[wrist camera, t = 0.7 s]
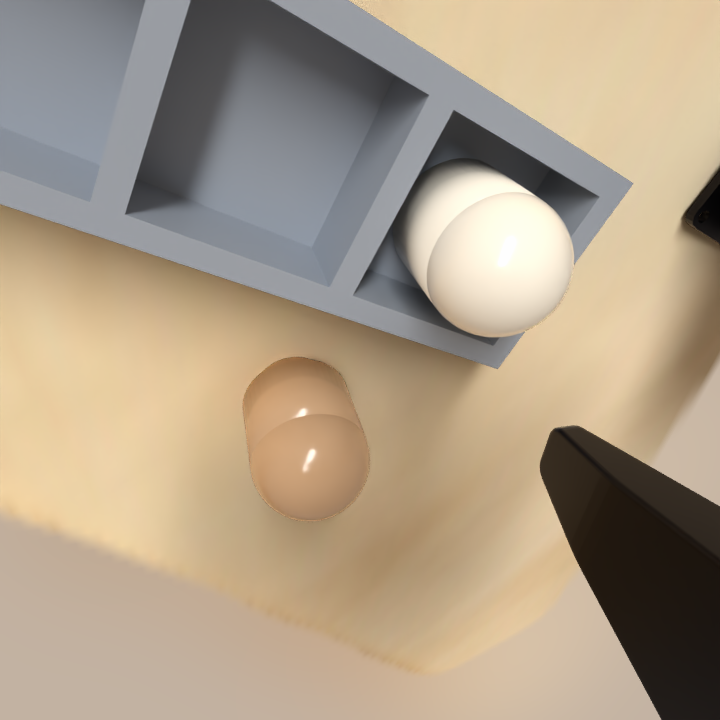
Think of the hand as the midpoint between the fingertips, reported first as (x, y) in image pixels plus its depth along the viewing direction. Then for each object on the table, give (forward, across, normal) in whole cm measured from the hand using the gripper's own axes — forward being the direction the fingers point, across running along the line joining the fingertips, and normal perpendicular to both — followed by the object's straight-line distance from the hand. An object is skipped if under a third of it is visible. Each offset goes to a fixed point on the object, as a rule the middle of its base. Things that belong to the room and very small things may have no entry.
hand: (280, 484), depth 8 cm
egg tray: (+12, -1, -2) cm, 12 cm away
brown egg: (+12, -2, +8) cm, 14 cm away
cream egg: (+12, -7, 0) cm, 13 cm away
